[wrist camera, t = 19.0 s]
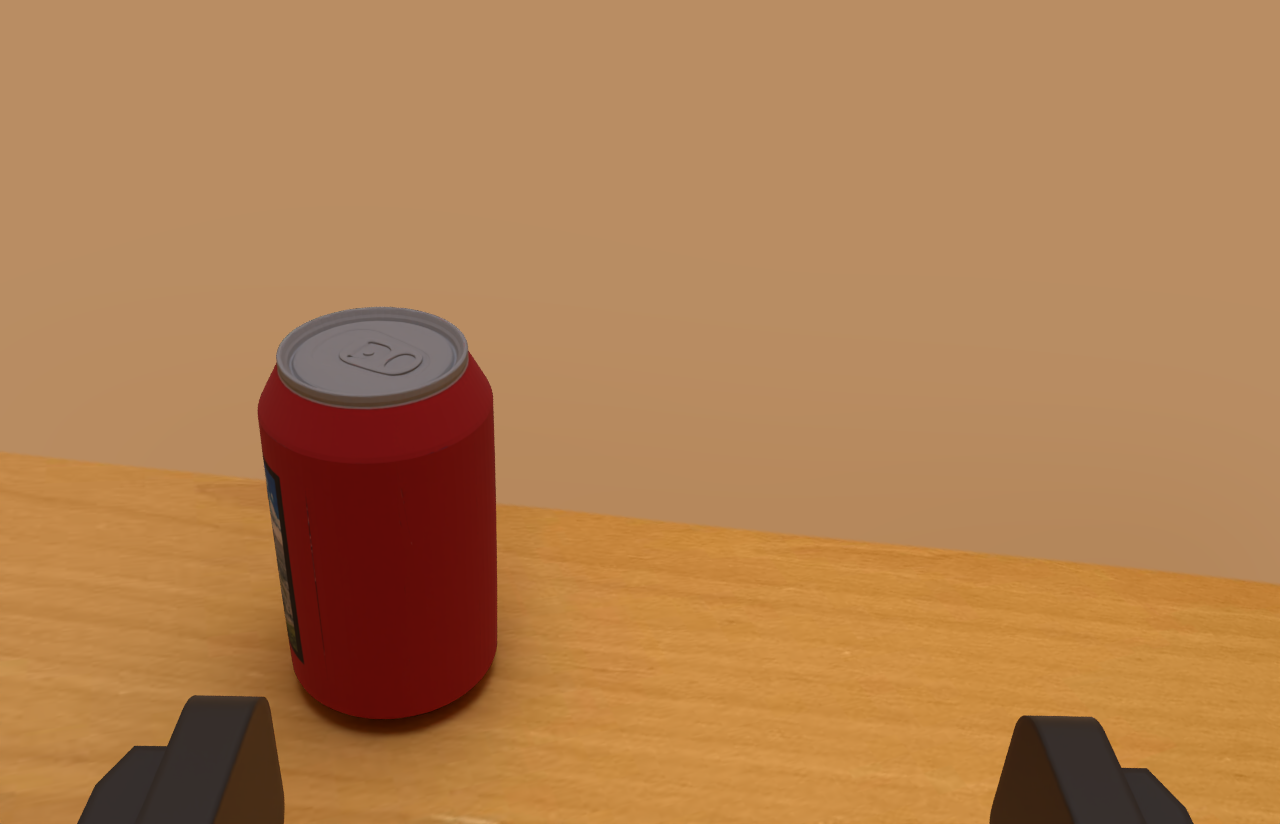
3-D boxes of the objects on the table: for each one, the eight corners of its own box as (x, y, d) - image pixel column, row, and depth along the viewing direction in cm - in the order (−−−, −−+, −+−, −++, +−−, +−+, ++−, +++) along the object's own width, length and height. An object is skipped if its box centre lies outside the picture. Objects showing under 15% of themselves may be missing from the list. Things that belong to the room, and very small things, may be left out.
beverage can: (377, 575, 44) (352, 278, 38) (535, 636, 42) (536, 330, 36) (249, 690, 39) (195, 367, 33) (422, 768, 37) (399, 435, 30)
